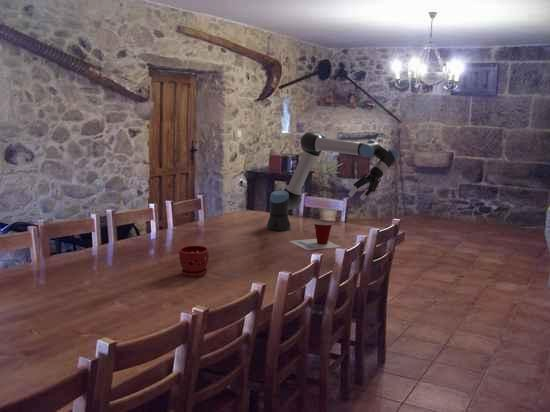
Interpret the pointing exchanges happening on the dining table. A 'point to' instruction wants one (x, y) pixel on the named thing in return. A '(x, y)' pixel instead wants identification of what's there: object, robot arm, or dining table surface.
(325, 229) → the plastic cup
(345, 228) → the dining table surface
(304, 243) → the placemat
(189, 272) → the plant pot
